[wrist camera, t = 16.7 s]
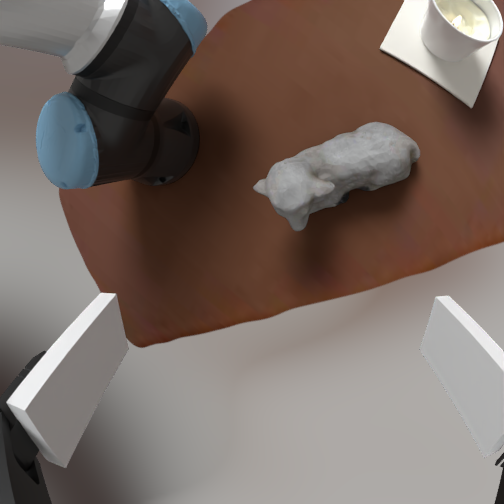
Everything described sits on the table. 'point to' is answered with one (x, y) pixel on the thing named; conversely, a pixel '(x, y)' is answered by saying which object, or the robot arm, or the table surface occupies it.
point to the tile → (421, 59)
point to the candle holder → (459, 27)
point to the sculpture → (338, 171)
